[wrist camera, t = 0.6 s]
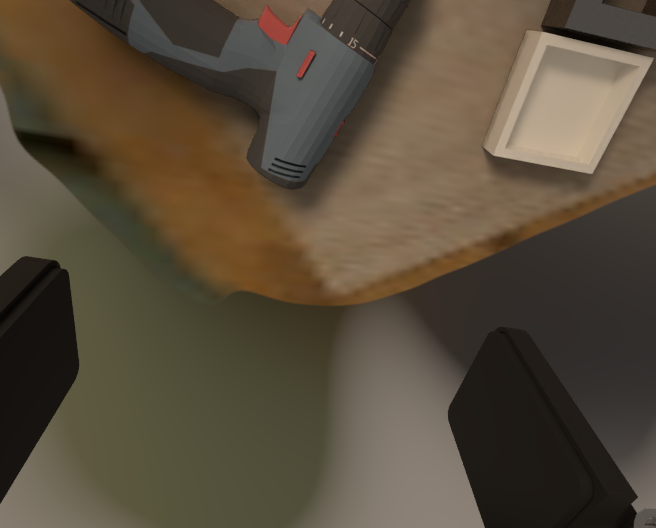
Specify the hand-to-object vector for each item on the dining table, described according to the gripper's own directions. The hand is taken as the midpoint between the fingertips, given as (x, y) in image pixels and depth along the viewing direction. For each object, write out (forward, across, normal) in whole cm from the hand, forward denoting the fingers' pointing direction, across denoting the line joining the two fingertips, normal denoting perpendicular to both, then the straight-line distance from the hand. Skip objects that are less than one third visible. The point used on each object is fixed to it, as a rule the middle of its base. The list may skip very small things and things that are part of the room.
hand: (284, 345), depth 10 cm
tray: (+29, -20, -4) cm, 35 cm away
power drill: (+29, +5, -6) cm, 30 cm away
